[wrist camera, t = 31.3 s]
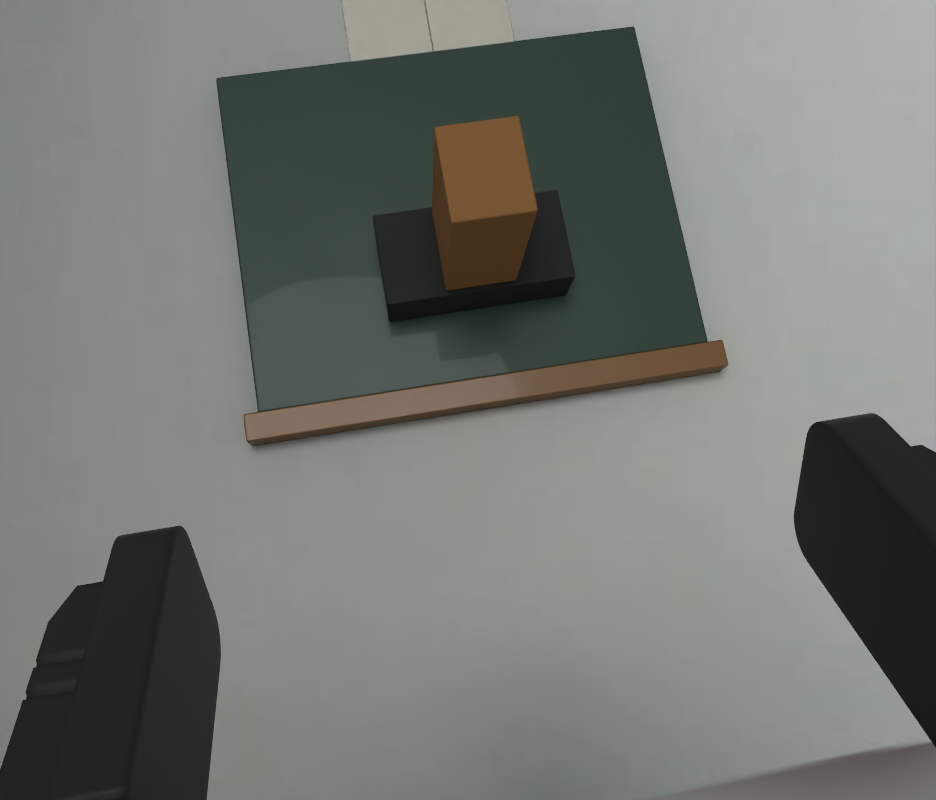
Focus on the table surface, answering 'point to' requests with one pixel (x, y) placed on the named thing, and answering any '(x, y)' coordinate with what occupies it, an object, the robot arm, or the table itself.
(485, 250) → the eraser
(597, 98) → the chalkboard
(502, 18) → the smudge
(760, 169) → the table surface
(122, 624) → the robot arm
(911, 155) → the table surface
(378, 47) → the smudge
